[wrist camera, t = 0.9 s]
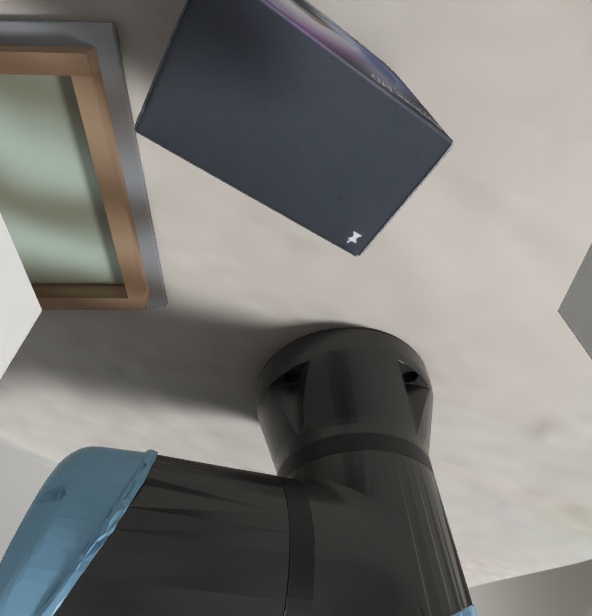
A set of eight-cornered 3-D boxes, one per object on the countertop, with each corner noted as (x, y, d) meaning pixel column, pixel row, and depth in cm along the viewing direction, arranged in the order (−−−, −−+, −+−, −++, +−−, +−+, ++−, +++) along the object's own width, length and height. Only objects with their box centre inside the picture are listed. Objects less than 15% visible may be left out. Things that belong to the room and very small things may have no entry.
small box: (407, 71, 25) (467, 142, 17) (336, 169, 29) (359, 266, 21) (234, -63, 21) (207, -54, 13) (176, 68, 25) (127, 139, 17)
